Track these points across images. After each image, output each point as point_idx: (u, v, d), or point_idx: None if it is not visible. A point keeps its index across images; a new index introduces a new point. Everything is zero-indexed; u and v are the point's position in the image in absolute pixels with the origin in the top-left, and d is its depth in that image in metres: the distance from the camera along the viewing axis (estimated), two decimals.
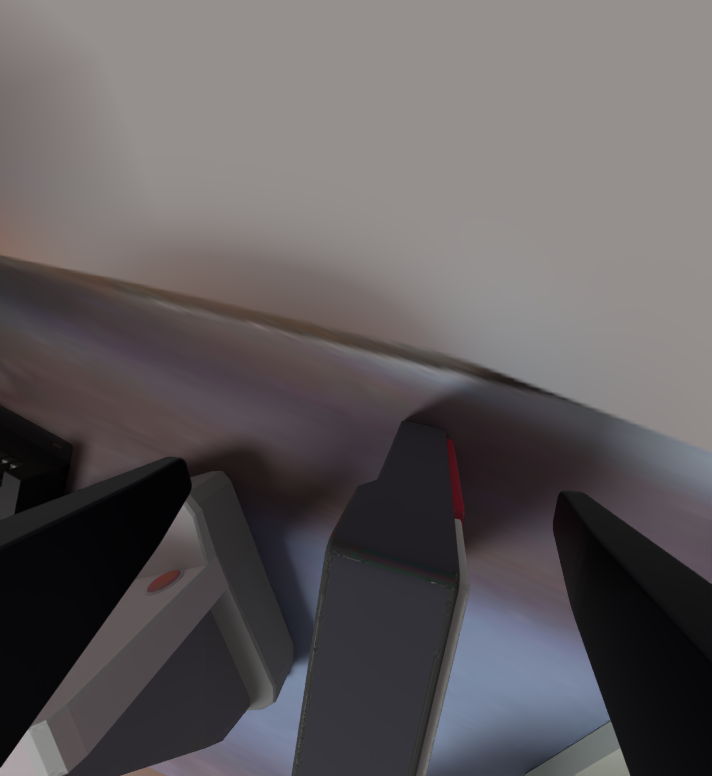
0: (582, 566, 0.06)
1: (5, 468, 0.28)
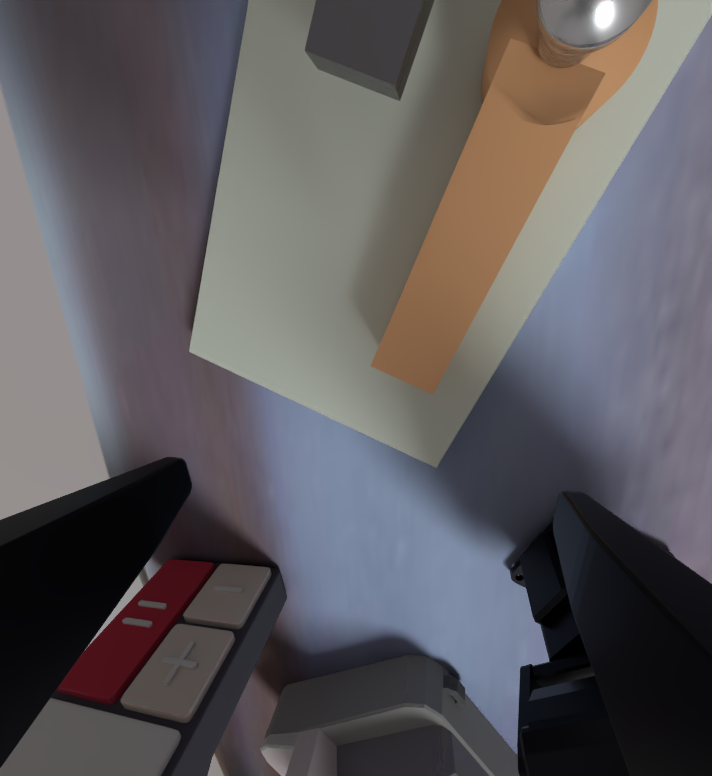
0: (582, 566, 0.06)
1: None
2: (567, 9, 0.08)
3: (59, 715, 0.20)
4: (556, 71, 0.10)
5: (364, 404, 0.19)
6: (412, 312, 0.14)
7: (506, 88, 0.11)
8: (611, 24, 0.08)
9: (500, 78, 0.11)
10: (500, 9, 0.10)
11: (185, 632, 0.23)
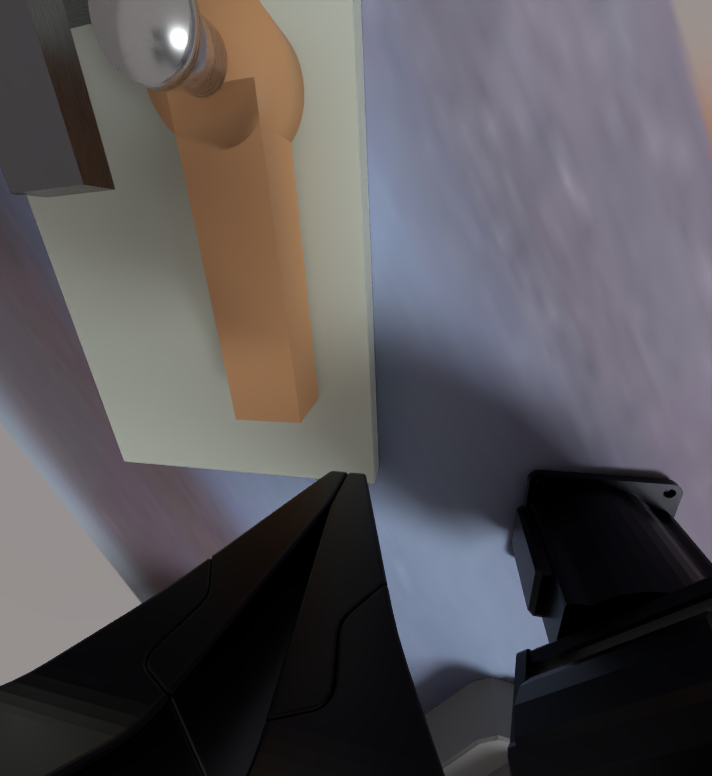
0: None
1: None
2: (134, 59, 0.08)
3: None
4: (215, 98, 0.11)
5: (279, 449, 0.19)
6: (238, 356, 0.14)
7: (189, 133, 0.11)
8: (172, 50, 0.08)
9: (180, 128, 0.11)
10: None
11: None
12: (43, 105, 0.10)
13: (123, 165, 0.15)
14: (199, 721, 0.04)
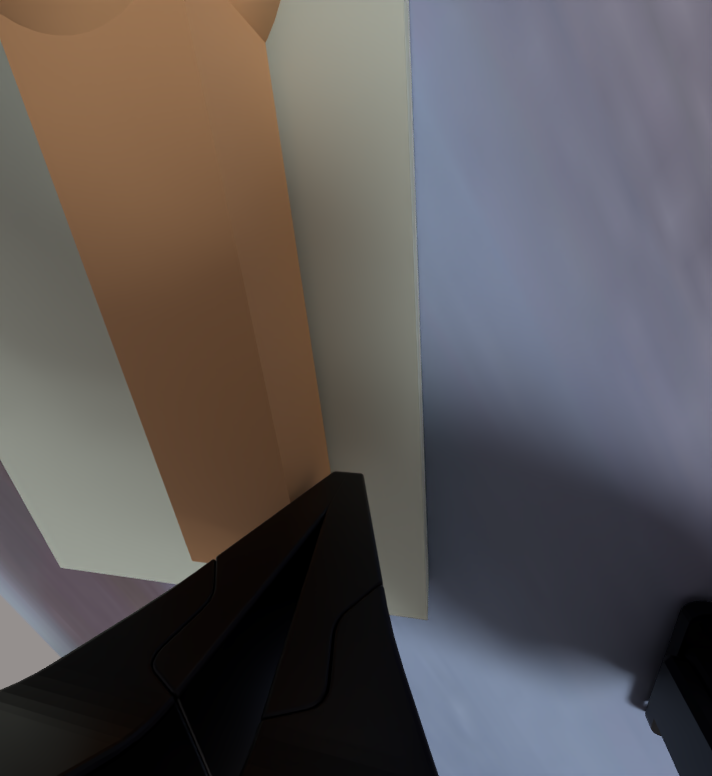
0: None
1: None
2: None
3: None
4: None
5: None
6: (184, 464, 0.07)
7: None
8: None
9: None
10: None
11: None
12: None
13: None
14: (205, 722, 0.04)
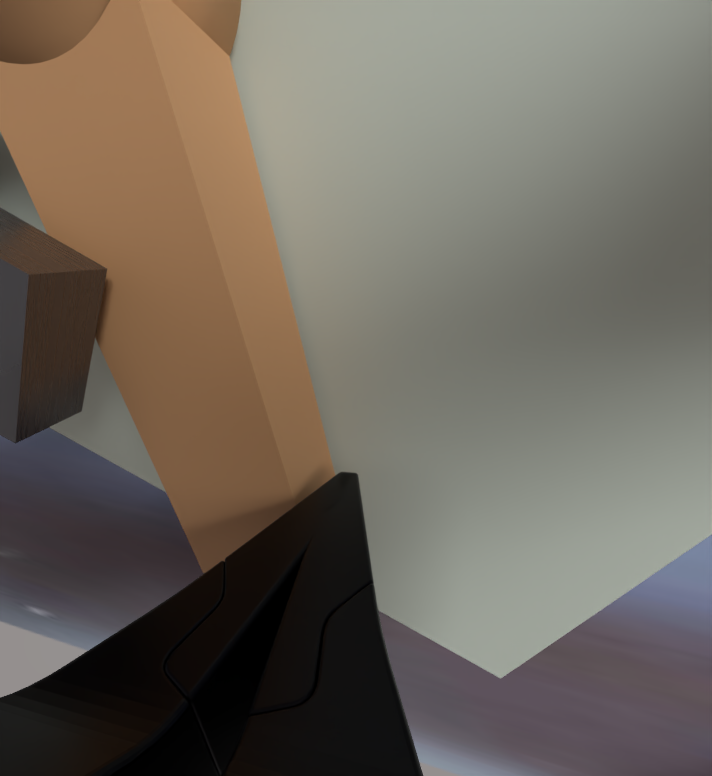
0: None
1: None
2: None
3: None
4: None
5: None
6: (185, 473, 0.07)
7: None
8: None
9: None
10: None
11: None
12: None
13: None
14: (217, 725, 0.04)
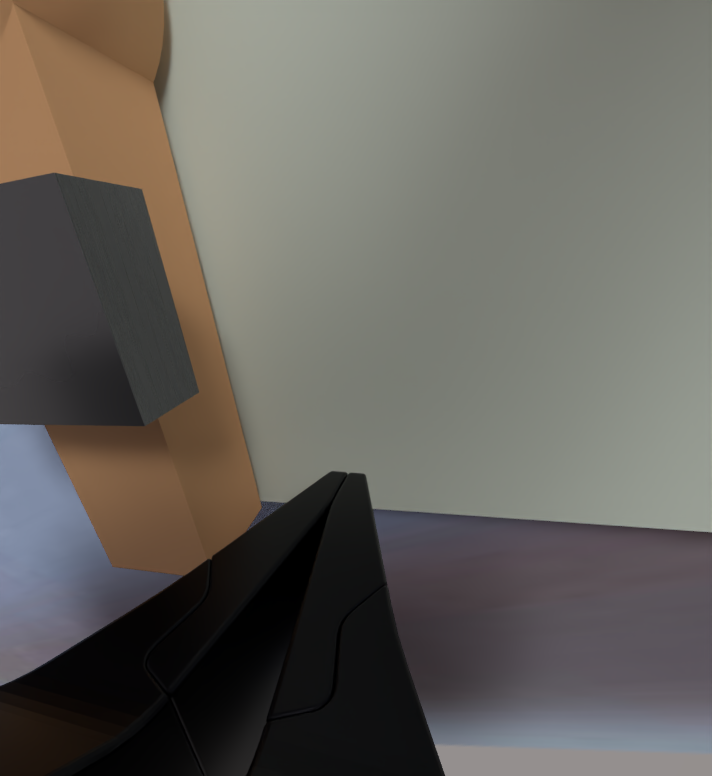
0: None
1: None
2: None
3: None
4: None
5: None
6: (92, 474, 0.08)
7: None
8: None
9: None
10: None
11: None
12: None
13: (220, 317, 0.09)
14: (199, 721, 0.04)
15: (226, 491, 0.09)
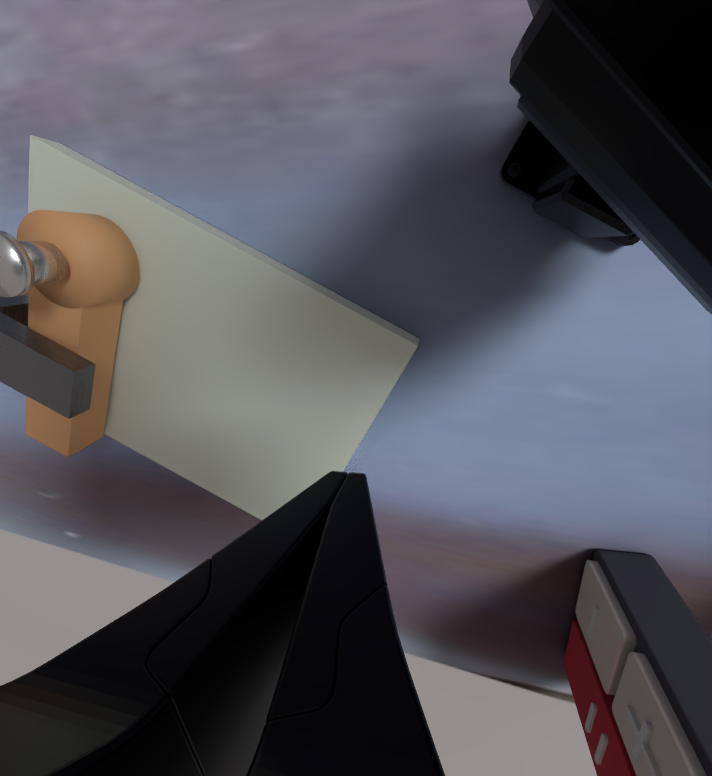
0: None
1: None
2: (11, 282, 0.14)
3: None
4: None
5: (344, 409, 0.19)
6: (37, 403, 0.20)
7: None
8: (11, 257, 0.14)
9: None
10: None
11: (619, 706, 0.17)
12: (35, 360, 0.17)
13: (116, 366, 0.22)
14: (199, 720, 0.04)
15: (88, 428, 0.22)
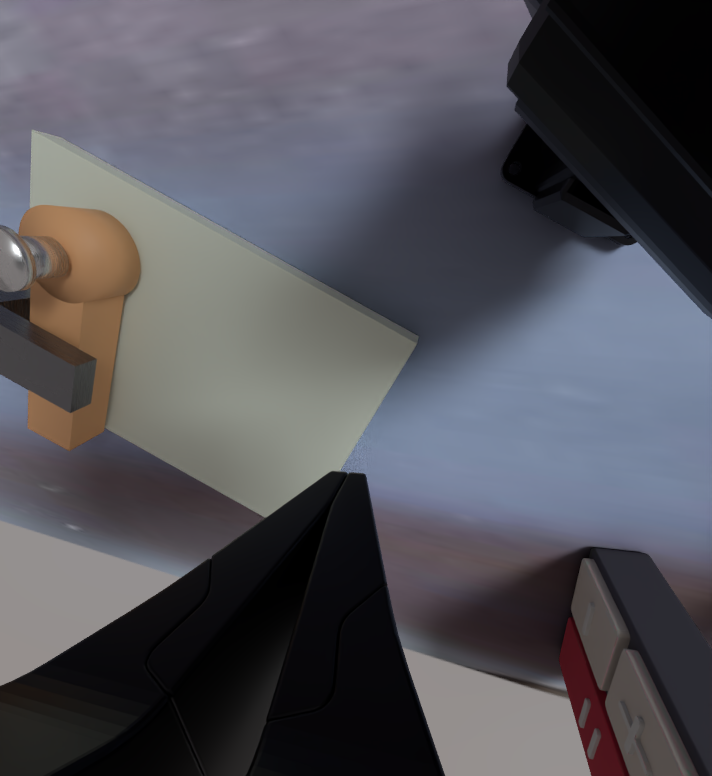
0: None
1: None
2: (13, 277, 0.14)
3: None
4: None
5: (343, 406, 0.20)
6: (39, 397, 0.21)
7: None
8: (13, 251, 0.14)
9: None
10: (19, 235, 0.17)
11: (612, 701, 0.17)
12: (37, 355, 0.17)
13: (117, 361, 0.22)
14: (199, 720, 0.04)
15: (89, 422, 0.22)
